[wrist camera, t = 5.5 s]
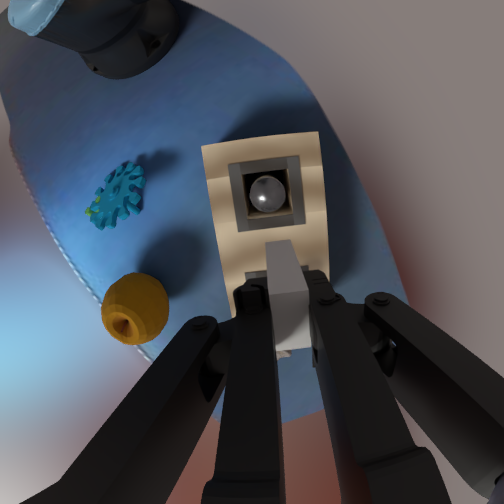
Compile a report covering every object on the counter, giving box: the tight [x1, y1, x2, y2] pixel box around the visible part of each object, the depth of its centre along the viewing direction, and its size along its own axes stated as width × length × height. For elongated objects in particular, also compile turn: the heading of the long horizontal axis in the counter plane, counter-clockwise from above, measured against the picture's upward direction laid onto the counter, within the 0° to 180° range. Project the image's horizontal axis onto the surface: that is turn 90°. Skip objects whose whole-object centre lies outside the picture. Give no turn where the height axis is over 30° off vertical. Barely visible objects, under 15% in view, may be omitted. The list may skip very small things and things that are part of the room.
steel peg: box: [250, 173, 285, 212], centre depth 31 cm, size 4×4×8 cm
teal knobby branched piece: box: [85, 162, 146, 230], centre depth 34 cm, size 11×6×10 cm
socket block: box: [201, 132, 329, 318], centre depth 33 cm, size 24×12×8 cm, turn 8°
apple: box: [101, 272, 169, 345], centre depth 35 cm, size 10×10×12 cm
